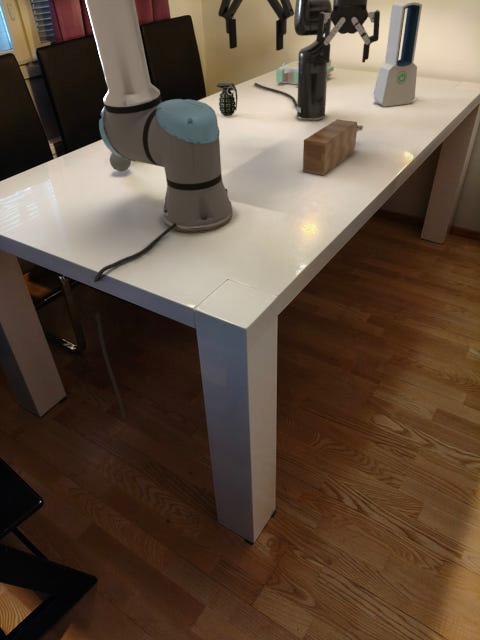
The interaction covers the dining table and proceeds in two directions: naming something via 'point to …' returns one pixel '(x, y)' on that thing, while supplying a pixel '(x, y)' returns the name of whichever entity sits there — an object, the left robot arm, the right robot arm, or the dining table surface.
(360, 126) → the purple elongated piece
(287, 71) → the decorative block
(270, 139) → the dining table surface
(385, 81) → the electronic device
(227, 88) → the grenade
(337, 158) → the brown wooden brick
